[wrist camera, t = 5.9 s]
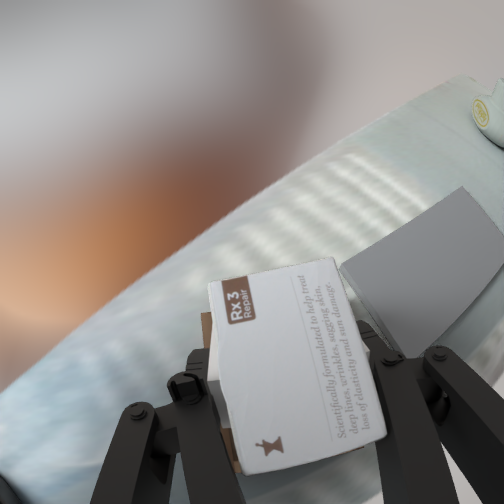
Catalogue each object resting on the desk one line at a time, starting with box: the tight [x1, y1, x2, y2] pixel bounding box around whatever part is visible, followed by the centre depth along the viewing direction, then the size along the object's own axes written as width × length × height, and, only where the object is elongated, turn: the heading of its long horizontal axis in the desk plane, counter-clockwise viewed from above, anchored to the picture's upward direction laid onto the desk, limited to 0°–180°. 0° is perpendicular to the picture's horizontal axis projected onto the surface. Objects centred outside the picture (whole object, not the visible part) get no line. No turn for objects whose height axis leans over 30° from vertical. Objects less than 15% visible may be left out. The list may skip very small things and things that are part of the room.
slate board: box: [339, 186, 504, 358], centre depth 21 cm, size 18×9×1 cm, turn 118°
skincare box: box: [208, 257, 387, 476], centre depth 12 cm, size 6×4×12 cm
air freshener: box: [472, 78, 504, 148], centre depth 27 cm, size 11×8×10 cm
